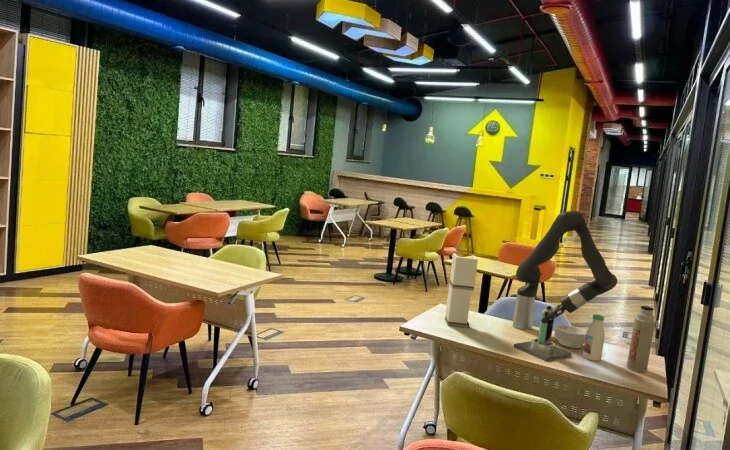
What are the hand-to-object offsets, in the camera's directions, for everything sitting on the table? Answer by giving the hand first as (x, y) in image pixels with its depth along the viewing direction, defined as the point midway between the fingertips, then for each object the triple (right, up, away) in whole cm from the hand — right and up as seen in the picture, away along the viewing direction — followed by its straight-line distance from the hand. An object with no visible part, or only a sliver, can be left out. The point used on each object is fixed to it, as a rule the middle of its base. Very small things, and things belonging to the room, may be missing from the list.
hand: (543, 319), depth 250 cm
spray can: (0, -13, +1) cm, 13 cm away
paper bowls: (+18, -15, +16) cm, 28 cm away
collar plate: (0, -15, +1) cm, 15 cm away
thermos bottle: (+38, -20, -9) cm, 44 cm away
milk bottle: (+21, -17, -1) cm, 28 cm away
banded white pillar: (-34, -7, +32) cm, 47 cm away
